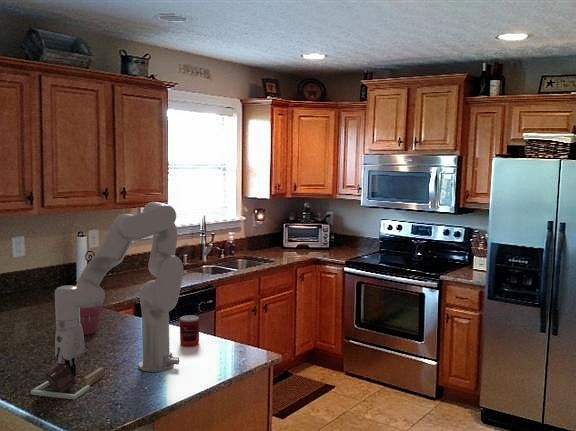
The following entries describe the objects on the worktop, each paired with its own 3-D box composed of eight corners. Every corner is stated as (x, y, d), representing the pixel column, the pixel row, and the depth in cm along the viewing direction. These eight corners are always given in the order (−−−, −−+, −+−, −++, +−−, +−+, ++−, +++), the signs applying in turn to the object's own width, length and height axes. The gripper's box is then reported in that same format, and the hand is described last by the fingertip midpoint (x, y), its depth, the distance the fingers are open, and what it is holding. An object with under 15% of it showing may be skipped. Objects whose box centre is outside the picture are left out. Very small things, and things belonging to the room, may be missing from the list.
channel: (104, 375, 199) (103, 367, 199) (87, 387, 189) (87, 378, 189) (71, 372, 202) (70, 364, 201) (53, 383, 192) (53, 374, 192)
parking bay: (90, 388, 188) (90, 385, 188) (74, 399, 180) (74, 395, 179) (47, 384, 191) (47, 380, 191) (30, 394, 183) (30, 390, 183)
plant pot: (61, 334, 244) (60, 305, 243) (84, 325, 257) (83, 297, 256) (88, 338, 239) (87, 308, 238) (110, 329, 252) (109, 300, 251)
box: (68, 378, 191) (60, 360, 189) (77, 383, 187) (69, 365, 185) (51, 389, 187) (43, 371, 185) (60, 395, 183) (52, 376, 181)
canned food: (191, 339, 239) (191, 313, 237) (203, 344, 233) (202, 317, 232) (176, 343, 233) (175, 317, 232) (187, 348, 228) (187, 321, 226)
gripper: (63, 330, 181) (66, 386, 183) (91, 317, 196) (93, 369, 198) (43, 328, 183) (46, 383, 185) (72, 316, 198) (74, 367, 200)
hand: (70, 376), depth 191 cm, fingers closed
